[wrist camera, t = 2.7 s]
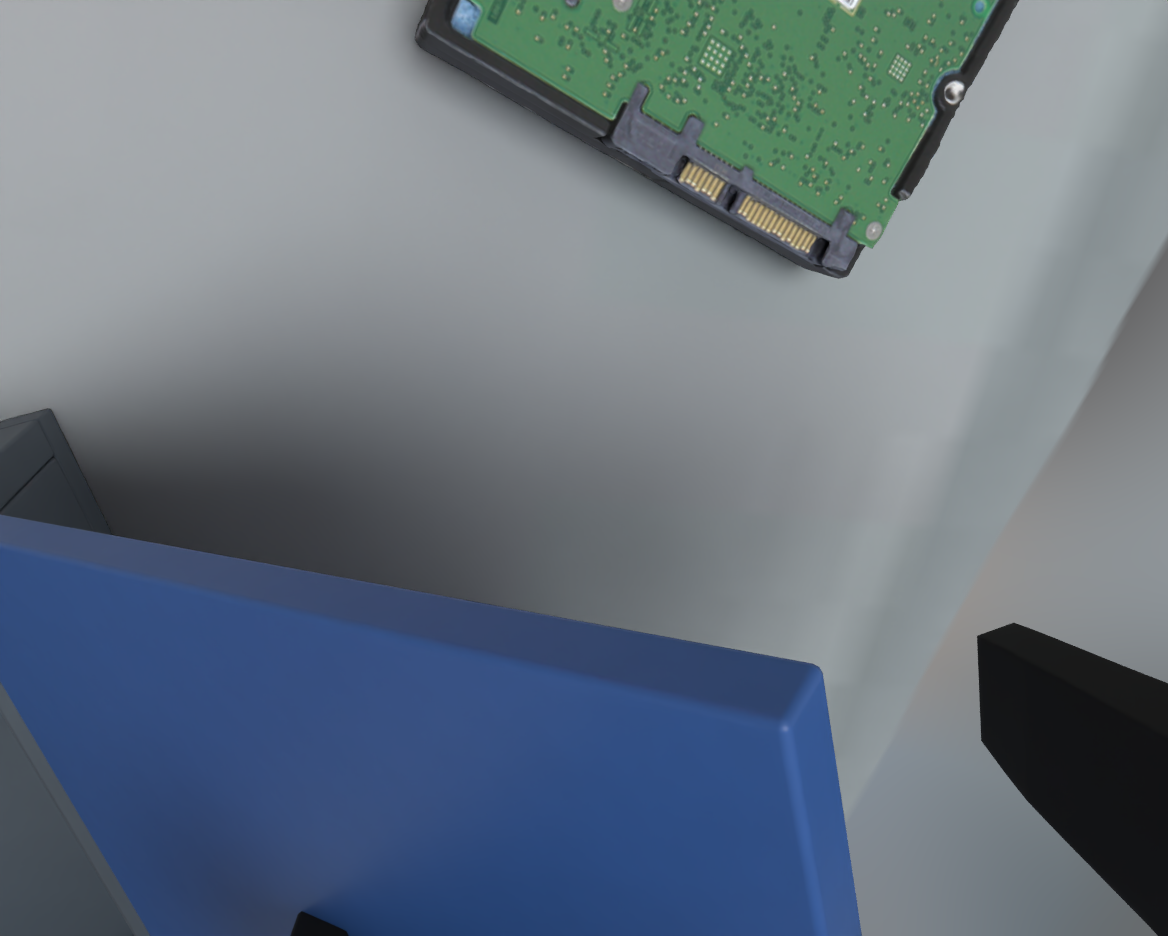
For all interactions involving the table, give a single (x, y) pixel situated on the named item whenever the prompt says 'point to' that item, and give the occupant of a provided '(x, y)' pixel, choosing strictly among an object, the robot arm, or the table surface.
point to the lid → (413, 754)
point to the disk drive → (742, 98)
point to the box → (11, 755)
